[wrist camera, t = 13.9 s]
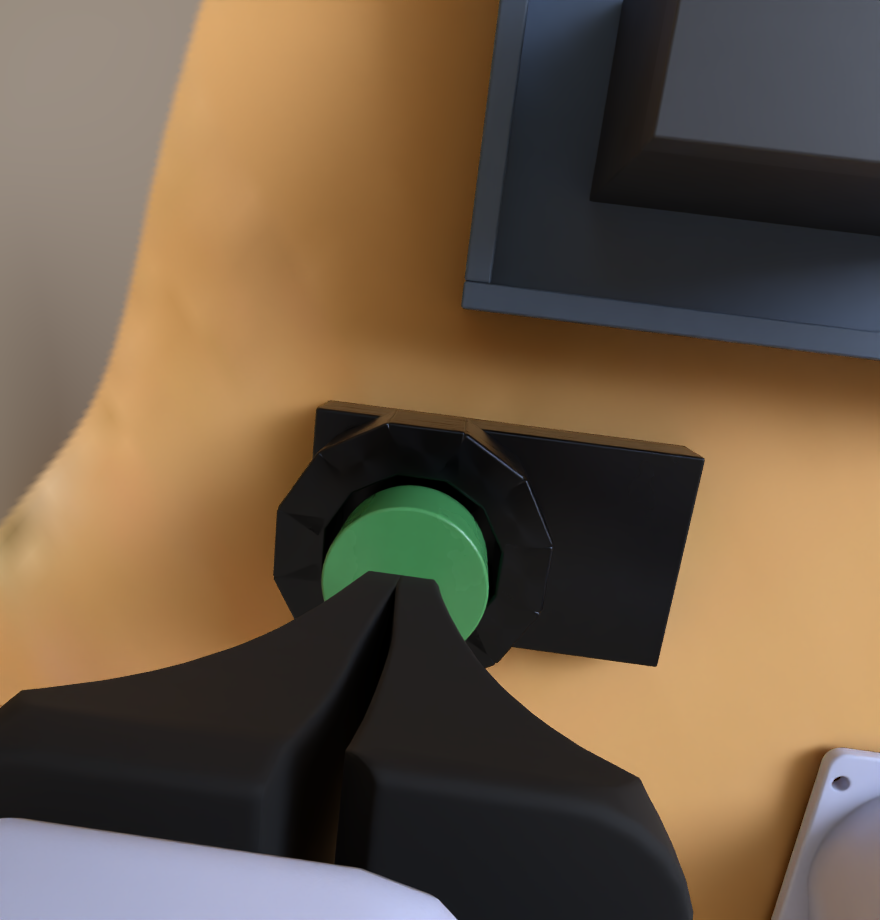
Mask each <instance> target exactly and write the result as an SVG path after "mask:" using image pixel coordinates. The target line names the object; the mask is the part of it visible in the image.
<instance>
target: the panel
mask: <svg viewBox="0 0 880 920" xmlns="http://www.w3.org/2000/svg"><path fill="white" fill-rule="evenodd" d="M704 461H705V460H704V458H703V457H701V456H700V455H698V454H696V453H695V452H693V451H691V450H690V449H688V448H687V447H685V446H680V445H672V444H664V443H656V442H649V441H641V440H633V439H625V438H618V437H610V436H602V435H594V434H587V433H579V432H571V431H564V430H556V429H548V428H540V427H533V426H525V425H517V424H509V423H502V422H494V421H486V420H478V419H471V418H464V417H456V416H448V415H440V414H433V413H425V412H417V411H410V410H402V409H393V408H386V407H378V406H370V405H362V404H355V403H347V402H339V401H328V402H327V403H325V404H323V405H322V406H320V407H318V408H317V409H316V416H315V430H314V444H313V457H312V461H311V462H310V463H309V465H308V466H307V468H306V469H305V470H304V472H303V473H302V475H301V476H300V477H299V479H298V480H297V482H296V483H295V484H294V486H293V487H292V488H291V490H290V491H289V493H288V494H287V495H286V497H285V498H284V500H283V501H282V502H281V504H280V505H279V507H278V510H277V520H276V537H275V553H274V570H273V576H274V580H275V582H276V584H277V586H278V588H279V590H280V592H281V594H282V596H283V598H284V600H285V602H286V604H287V606H288V607H289V609H290V611H291V613H292V615H293V617H294V619H296V618H298V617H299V616H301V615H303V614H304V613H306V612H308V611H310V610H311V609H313V608H315V607H317V606H318V605H320V604H322V603H323V602H324V598H323V594H322V586H321V575H322V569H323V564H324V560H325V557H326V554H327V552H328V550H329V548H330V546H331V544H332V543H333V541H334V539H335V538H336V536H337V535H338V533H339V531H340V530H341V528H342V527H343V525H344V523H345V522H346V520H347V519H348V517H349V516H350V514H351V513H352V512H353V510H354V509H355V508H356V507H357V506H358V505H359V504H360V503H362V502H363V501H364V500H365V499H367V498H368V497H370V496H371V495H373V494H375V493H377V492H379V491H382V490H385V489H388V488H392V487H397V486H406V485H413V486H423V487H428V488H432V489H435V490H438V491H441V492H443V493H445V494H447V495H449V496H451V497H452V498H454V499H455V500H457V501H458V502H459V503H461V504H462V505H463V506H464V507H465V508H466V509H467V510H468V511H469V512H470V513H471V514H472V516H473V517H474V519H475V520H476V521H477V523H478V525H479V527H480V529H481V531H482V533H483V536H484V539H485V543H486V548H487V562H488V581H489V593H488V600H487V605H486V609H485V611H484V614H483V617H482V619H481V620H480V622H479V624H478V626H477V627H476V629H475V630H474V631H473V633H472V634H471V635H470V636H469V637H468V638H467V639H466V640H465V642H466V644H467V645H468V647H469V648H470V649H471V651H472V652H473V654H474V655H475V657H476V658H477V659H478V661H479V662H480V663H481V665H482V666H483V667H484V668H487V667H490V666H493V665H494V664H495V663H498V662H499V661H500V660H501V659H502V657H503V656H504V655H505V654H506V653H507V652H508V651H509V650H510V648H511V647H516V648H523V649H530V650H537V651H545V652H552V653H559V654H566V655H574V656H581V657H588V658H595V659H602V660H610V661H617V662H624V663H631V664H639V665H646V666H653V667H656V666H657V663H658V659H659V655H660V651H661V646H662V642H663V638H664V633H665V629H666V625H667V620H668V616H669V612H670V607H671V603H672V599H673V595H674V590H675V586H676V582H677V577H678V573H679V569H680V564H681V560H682V556H683V552H684V547H685V543H686V539H687V534H688V530H689V526H690V521H691V517H692V513H693V509H694V504H695V500H696V496H697V491H698V487H699V483H700V478H701V474H702V470H703V465H704Z"/></svg>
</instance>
